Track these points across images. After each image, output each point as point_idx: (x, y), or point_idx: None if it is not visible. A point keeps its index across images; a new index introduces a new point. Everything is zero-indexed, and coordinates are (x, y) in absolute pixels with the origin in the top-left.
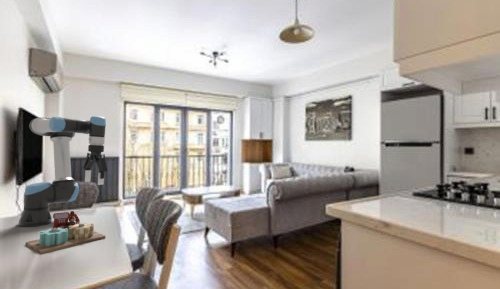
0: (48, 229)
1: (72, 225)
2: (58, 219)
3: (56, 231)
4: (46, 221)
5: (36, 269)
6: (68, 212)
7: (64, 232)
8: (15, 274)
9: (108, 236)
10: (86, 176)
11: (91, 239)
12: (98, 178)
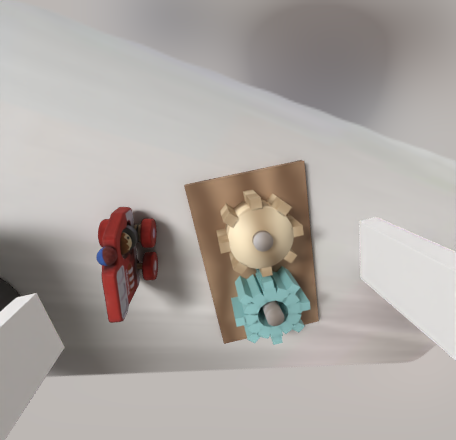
0: (242, 325)
1: (152, 238)
2: (128, 292)
3: (281, 310)
4: (1, 292)
5: (394, 326)
6: (114, 274)
7: (294, 290)
8: (389, 351)
9: (290, 144)
10: (2, 421)
11: (307, 207)
12: (438, 333)
